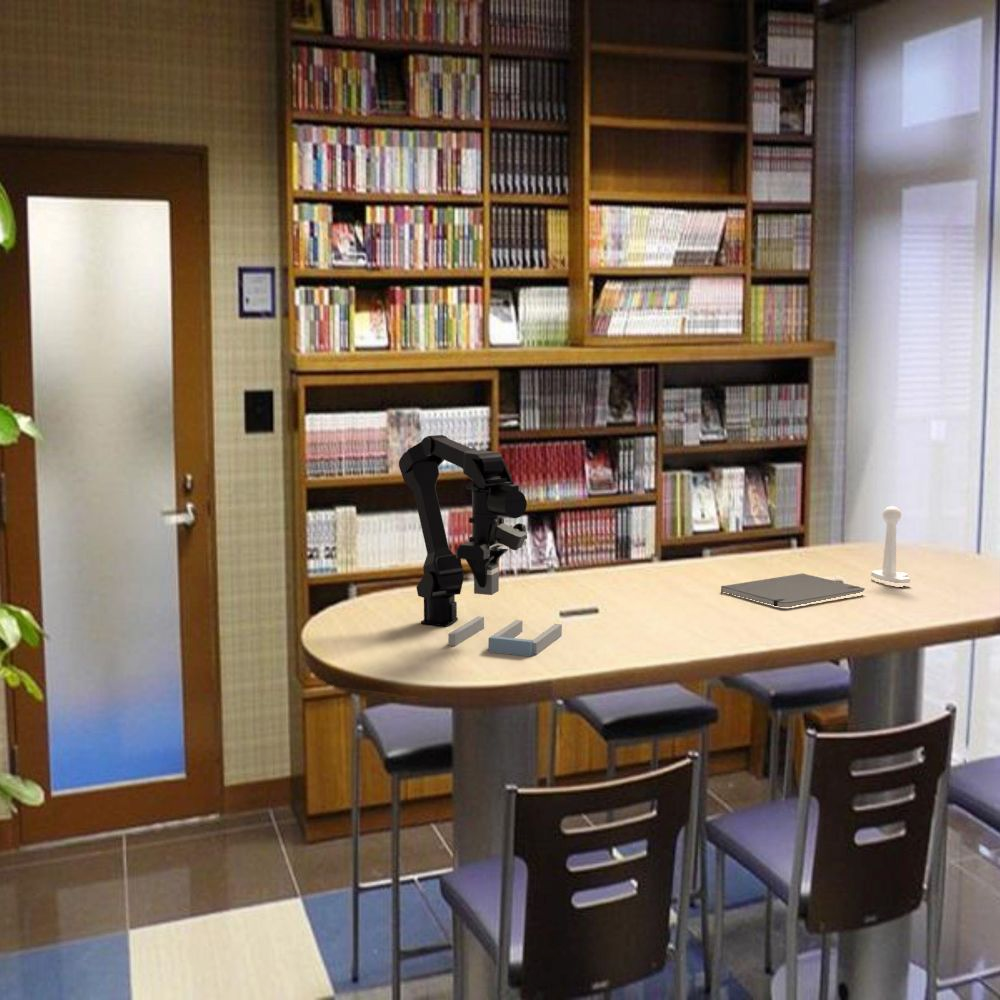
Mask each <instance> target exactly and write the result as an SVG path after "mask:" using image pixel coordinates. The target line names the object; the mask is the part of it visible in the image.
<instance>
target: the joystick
mask: <svg viewBox="0 0 1000 1000" xmlns="http://www.w3.org/2000/svg"><path fill="white" fill-rule="evenodd" d="M882 518H883V520H884V521H885V523H886V529H885V540H884V541H885V542H884V550H883V559H882V560H883V561H882V569H877V570H872V571H871V572H870V577H871V576H873V577H875V578H877V579H880V580H884V581H889V582H894V583H909V582H910V583H911V579H912V578H911V577H908V575H909V574H908V573H906V572H899V571H897V524H898V522H899V521H900V520H901V518H902V511H901V510H900V509H899V508H898V507H896V506H894V505H891V506H887V507H886V508H884V510H883V512H882Z"/></svg>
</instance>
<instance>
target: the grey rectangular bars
mask: <svg viewBox="0 0 1000 1000" xmlns="http://www.w3.org/2000/svg"><path fill="white" fill-rule="evenodd" d="M483 629H485V616H479V615H478V616H475V617H474V618H472V619H470V620H469V621H467V622H466V623H464V624H461V626H459V627H457V628H455V629H453V631H451V632H450V633H448V637H447V638H448V642H447V643H448V645H451V647H456V646H458V645H460V644H461V643H462V642H464V641H465V640H467V639H469V638H471V637H473V636H474V635H475V634H477V633H478V632H480V631H481V630H483ZM562 631H563V625H562V623H554V624H552V625H551V626H550V627H549V628H547V629H545V630H544V631H543V632H542V633H540V634H539V635H537V636H536V637H534V638H533V639H526V638H516V637H517V636H519V635H520V634H521V633H523V620H520V619H516V620H514V621H512V622H511V623H509V624H507V625H505V626H504V627H503V628H502V629H500V630H498V631H497V632H495V633H494V634H493V635H490V636H489V637H488V639H487V640H488V644H487V645H488V647H487V648H488V652H489V653H495V654H505V655H515V656H524V657H531V656H533V655H536V656H537V655H538V654H540V653H541V652H542V651H543V650H545V649H546V648H547V647H548V646H550V645H551V644H553V643H554V642H555V641H557V640H558V639H560V638H561V637H562V636H563V634H562V633H563V632H562Z"/></svg>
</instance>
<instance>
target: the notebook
mask: <svg viewBox="0 0 1000 1000" xmlns="http://www.w3.org/2000/svg"><path fill="white" fill-rule="evenodd" d="M865 590H866V588H865V587H863V586H862V587H861V586H857V585H852V584H848V583H844V582H841V581H840V582H839V581H837V580H836V581H835V580H831V579H828V578H823V577H819V576H815V575H810V574H806V573H803V572H802V573H798V574H797V573H796V574H791V575H784V576H777V577H772V578H765V579H759V580H752V581H747V582H739V583H733V584H727V585H721V586H720V593H721V592H726V593H729V594H733V595H736V596H740V597H744V598H748V599H752V600H755V601H759V602H763V603H767V604H771V605H774V606H779V607H792V606H796V605H801V604H807V603H811V602H816V601H821V600H826V599H831V598H836V597H841V596H846V595H850V594H856V593H860V592H863V591H865ZM729 594H728V595H729ZM736 596H735V597H736ZM740 597H739V598H740Z"/></svg>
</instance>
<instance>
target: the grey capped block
mask: <svg viewBox="0 0 1000 1000" xmlns="http://www.w3.org/2000/svg"><path fill="white" fill-rule="evenodd" d="M499 565H500V564H499V562H498V563H488V569H487V578H486V584H485V587H484V588H483V587H480V586H479V584H478V582H477V580H476V578H475V576H474V575H473V594H476V595H484V596H485V595H488V596H493V595H494V594H496V593H499V591H500V590H499V587H500V586H499V585H500V580H499V579H500V577H499V576H500V575H499V572H500V566H499Z"/></svg>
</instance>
